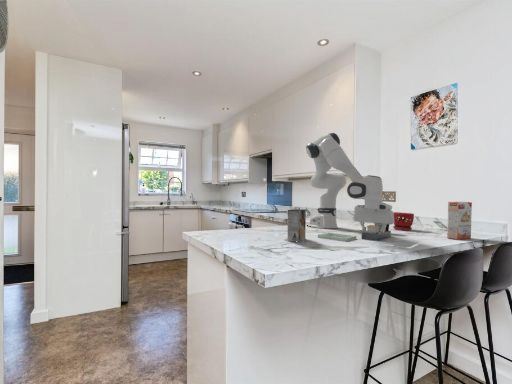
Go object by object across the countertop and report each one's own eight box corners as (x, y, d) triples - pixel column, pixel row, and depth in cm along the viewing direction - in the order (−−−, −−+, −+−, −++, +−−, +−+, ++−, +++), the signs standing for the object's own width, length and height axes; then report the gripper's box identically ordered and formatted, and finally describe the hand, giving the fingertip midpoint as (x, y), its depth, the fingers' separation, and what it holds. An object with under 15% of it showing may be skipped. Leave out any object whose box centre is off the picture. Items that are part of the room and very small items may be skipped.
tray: (318, 238, 148) (318, 234, 148) (329, 236, 157) (329, 232, 157) (345, 242, 137) (345, 238, 137) (356, 239, 145) (356, 236, 145)
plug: (367, 238, 146) (367, 225, 146) (370, 237, 149) (371, 225, 149) (375, 239, 143) (375, 226, 143) (378, 238, 146) (378, 225, 147)
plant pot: (409, 231, 182) (409, 213, 182) (389, 229, 192) (389, 212, 192) (416, 230, 190) (416, 212, 190) (396, 228, 200) (397, 211, 200)
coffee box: (294, 238, 147) (294, 208, 147) (305, 240, 143) (306, 209, 143) (287, 241, 139) (287, 209, 139) (298, 242, 135) (299, 210, 135)
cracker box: (458, 240, 149) (459, 201, 149) (446, 238, 155) (447, 201, 155) (472, 238, 156) (472, 201, 156) (460, 237, 161) (460, 201, 161)
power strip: (361, 240, 145) (361, 231, 145) (376, 236, 160) (376, 228, 160) (377, 242, 140) (377, 233, 140) (390, 237, 154) (390, 230, 154)
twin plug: (374, 236, 153) (374, 224, 153) (378, 235, 157) (378, 223, 157) (382, 237, 150) (382, 225, 150) (385, 236, 154) (385, 224, 154)
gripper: (352, 204, 151) (351, 229, 151) (391, 206, 137) (390, 234, 137) (357, 204, 156) (356, 228, 156) (395, 206, 141) (395, 232, 141)
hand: (373, 231), depth 146 cm, fingers open, 8 cm apart
